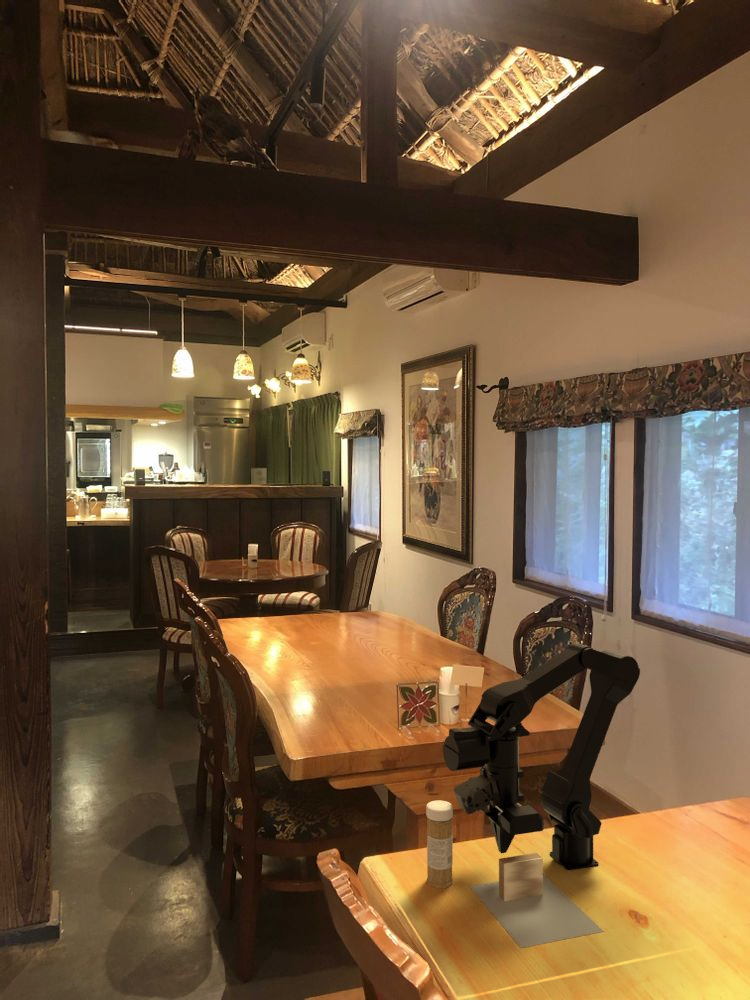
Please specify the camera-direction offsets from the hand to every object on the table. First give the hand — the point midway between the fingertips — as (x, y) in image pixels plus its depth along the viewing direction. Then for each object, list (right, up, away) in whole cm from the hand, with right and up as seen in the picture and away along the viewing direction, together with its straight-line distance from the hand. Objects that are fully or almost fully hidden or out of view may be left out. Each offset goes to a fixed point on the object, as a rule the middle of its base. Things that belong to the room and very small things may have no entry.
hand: (502, 852), depth 127 cm
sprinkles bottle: (-11, -5, -2) cm, 12 cm away
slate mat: (+3, -4, -10) cm, 12 cm away
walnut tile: (+2, -4, -6) cm, 8 cm away
